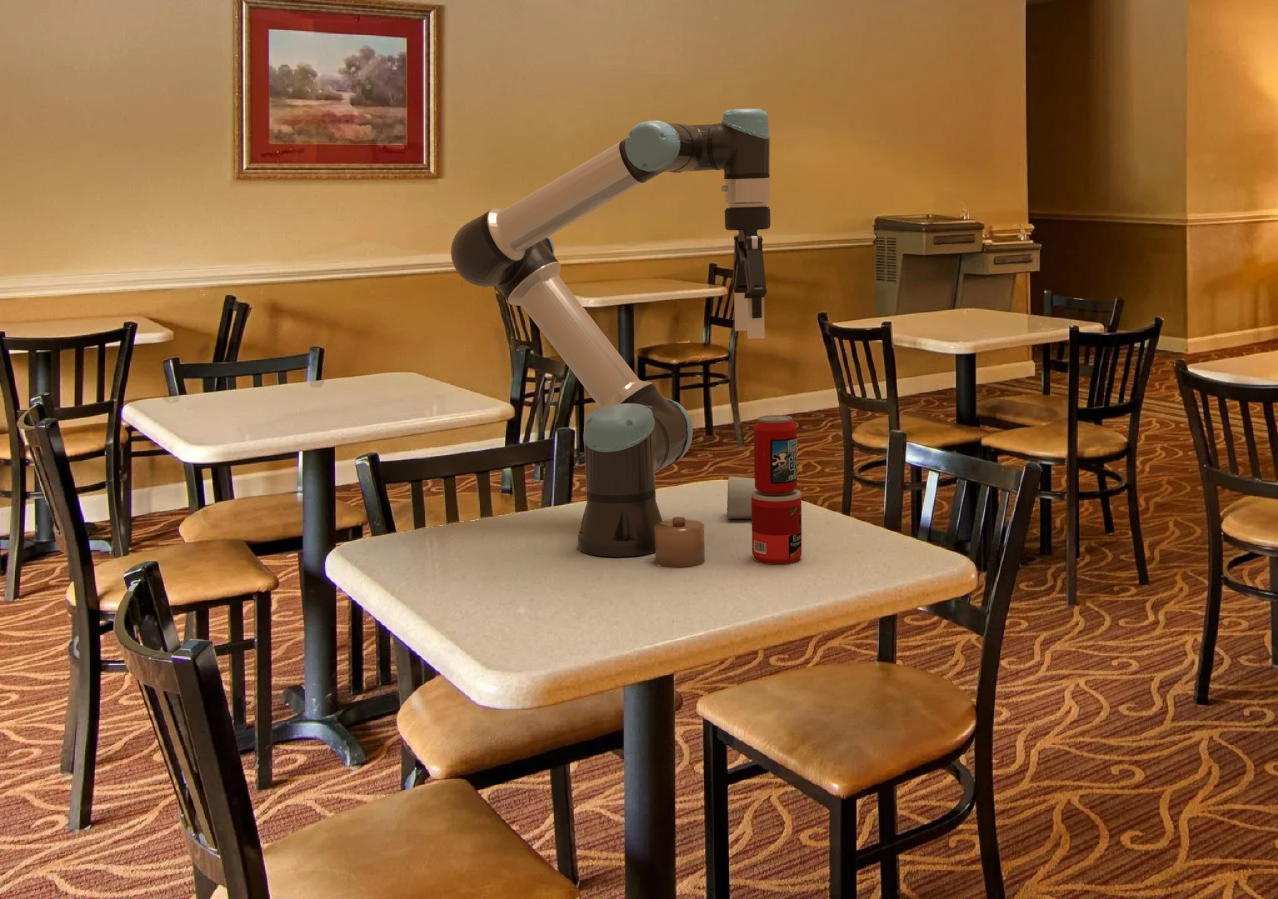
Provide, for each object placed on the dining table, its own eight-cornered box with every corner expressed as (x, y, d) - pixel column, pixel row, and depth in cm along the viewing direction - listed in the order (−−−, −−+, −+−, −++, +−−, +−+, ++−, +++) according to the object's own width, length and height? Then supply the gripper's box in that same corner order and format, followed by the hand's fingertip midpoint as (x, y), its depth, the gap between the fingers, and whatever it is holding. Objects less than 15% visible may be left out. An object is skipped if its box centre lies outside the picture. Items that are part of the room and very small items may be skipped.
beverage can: (786, 498, 205) (785, 422, 203) (747, 494, 209) (746, 419, 207) (804, 489, 211) (803, 415, 209) (766, 486, 214) (765, 413, 212)
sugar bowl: (645, 563, 212) (643, 520, 210) (676, 552, 218) (675, 510, 216) (684, 571, 207) (682, 526, 205) (714, 559, 213) (713, 516, 211)
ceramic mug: (772, 522, 236) (772, 480, 235) (726, 522, 236) (726, 481, 235) (771, 510, 246) (771, 469, 245) (727, 510, 247) (726, 470, 246)
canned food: (800, 565, 207) (799, 497, 205) (749, 564, 209) (748, 496, 207) (803, 552, 215) (803, 487, 213) (754, 552, 216) (753, 486, 214)
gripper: (714, 206, 229) (716, 328, 233) (736, 206, 204) (738, 342, 208) (757, 205, 229) (758, 326, 233) (783, 204, 205) (785, 340, 209)
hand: (749, 334), depth 221 cm, fingers open, 13 cm apart
